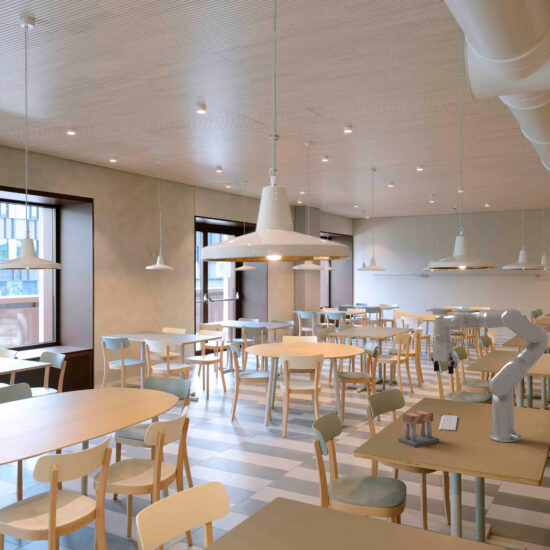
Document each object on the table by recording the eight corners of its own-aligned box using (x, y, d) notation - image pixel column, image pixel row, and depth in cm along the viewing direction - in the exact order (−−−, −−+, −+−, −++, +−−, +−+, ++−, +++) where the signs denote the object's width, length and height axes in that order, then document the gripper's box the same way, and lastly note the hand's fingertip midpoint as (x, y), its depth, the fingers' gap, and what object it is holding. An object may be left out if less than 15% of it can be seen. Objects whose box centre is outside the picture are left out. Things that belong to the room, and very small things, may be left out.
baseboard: (435, 431, 283) (455, 432, 279) (435, 425, 283) (455, 427, 279) (439, 417, 311) (457, 418, 308) (439, 412, 311) (457, 413, 308)
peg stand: (439, 441, 262) (438, 421, 262) (414, 447, 254) (413, 426, 254) (422, 436, 272) (422, 417, 272) (398, 441, 264) (397, 421, 264)
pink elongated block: (411, 425, 257) (411, 416, 257) (402, 422, 262) (402, 414, 262) (433, 421, 264) (433, 412, 264) (424, 418, 269) (424, 410, 269)
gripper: (425, 337, 285) (425, 370, 285) (450, 340, 270) (451, 375, 270) (435, 337, 289) (436, 369, 289) (461, 339, 274) (462, 373, 273)
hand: (443, 372), depth 279 cm, fingers open, 9 cm apart
